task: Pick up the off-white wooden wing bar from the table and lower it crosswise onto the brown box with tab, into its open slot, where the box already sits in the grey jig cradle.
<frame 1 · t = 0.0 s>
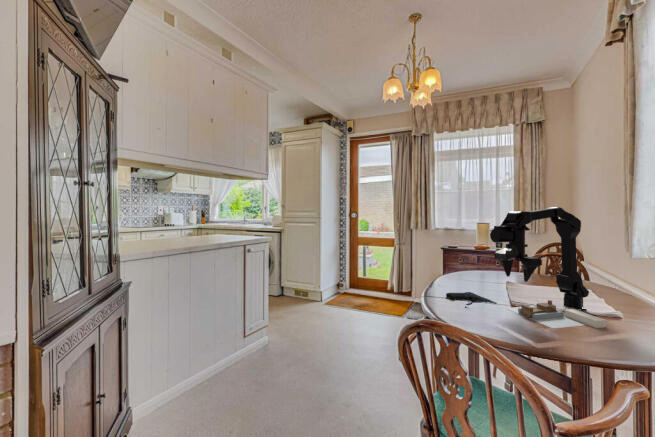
hand: (516, 279, 123), 15 cm above the table, fingers open, 9 cm apart
jig board: (542, 318, 118), on the table
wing: (584, 325, 112), on the table
gun: (472, 304, 139), on the table
brown box with tab: (538, 315, 119), point 1 cm above the table, touching jig board
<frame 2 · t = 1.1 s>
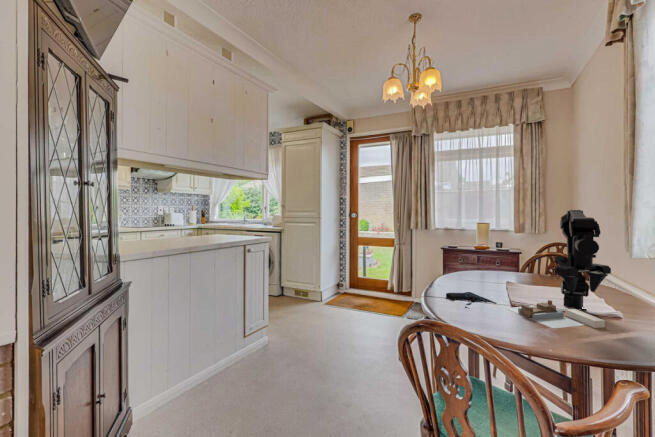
hand: (582, 292, 112), 12 cm above the table, fingers open, 9 cm apart
nothing on the table moved.
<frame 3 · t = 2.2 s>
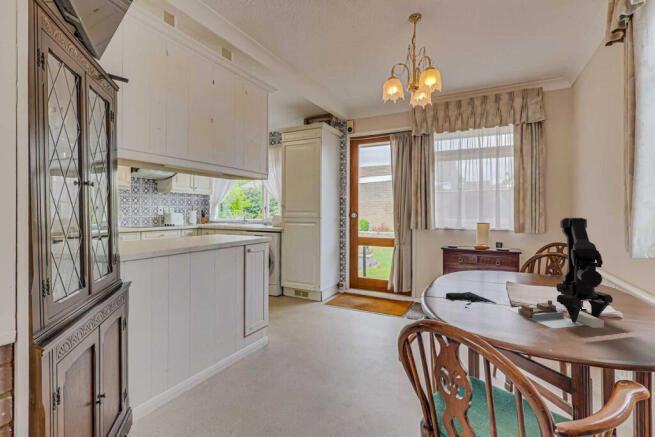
hand: (584, 321, 112), 1 cm above the table, fingers open, 9 cm apart
nothing on the table moved.
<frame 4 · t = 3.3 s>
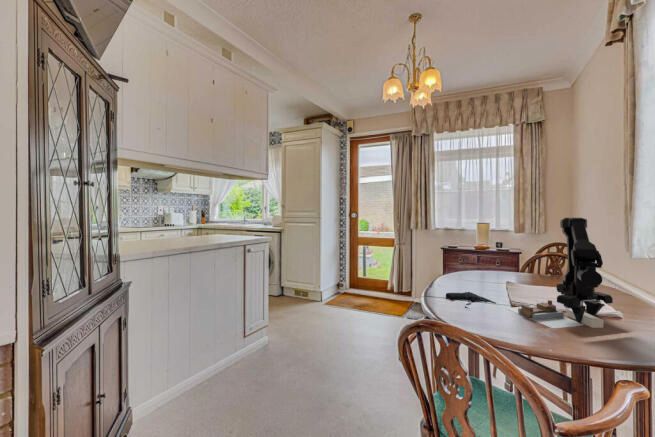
hand: (584, 321, 112), 1 cm above the table, fingers closed on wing, 4 cm apart
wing: (583, 324, 112), on the table, touching gripper
everything else where it was.
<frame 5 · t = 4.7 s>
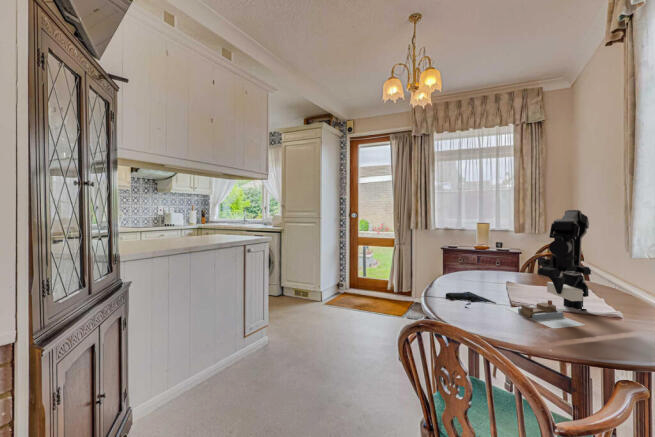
hand: (563, 293, 114), 11 cm above the table, fingers closed on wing, 4 cm apart
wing: (563, 296, 114), point 10 cm above the table, touching gripper
everything else where it was.
when the fingers open (7 cm above the table, at t = 6.2 s): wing drops 2 cm, resting on brown box with tab.
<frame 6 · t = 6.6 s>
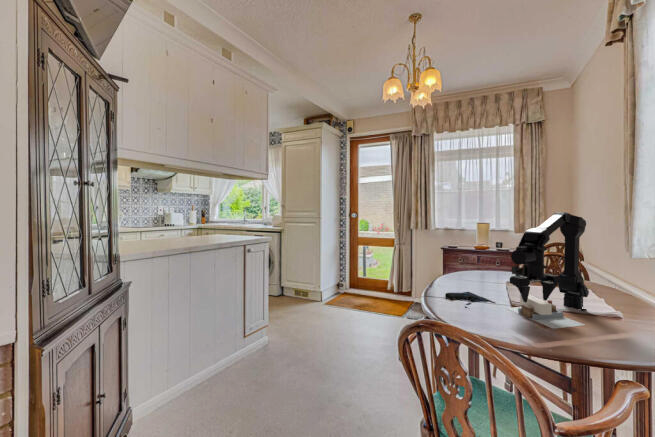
hand: (535, 301, 118), 7 cm above the table, fingers open, 9 cm apart
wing: (535, 309, 118), point 4 cm above the table, touching brown box with tab
brown box with tab: (538, 315, 119), point 1 cm above the table, touching jig board, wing
everything else where it was.
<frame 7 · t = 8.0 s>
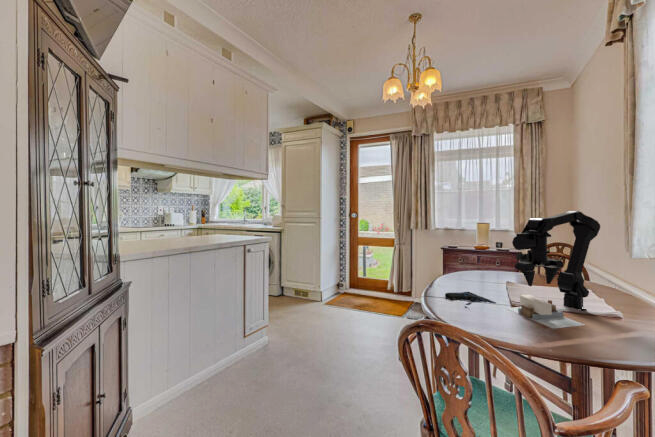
hand: (539, 285, 125), 12 cm above the table, fingers open, 9 cm apart
nothing on the table moved.
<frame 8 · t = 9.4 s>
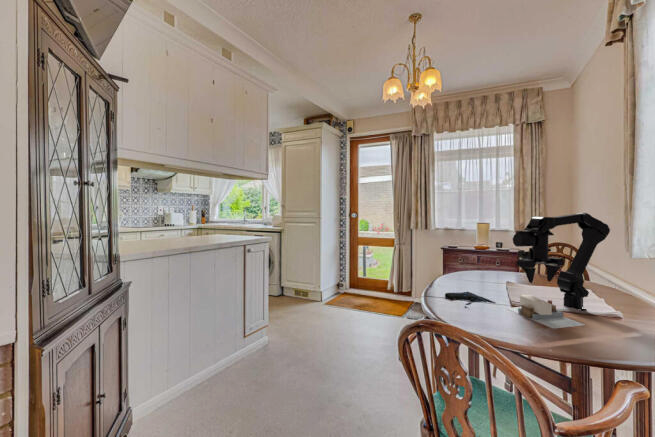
hand: (539, 282, 128), 12 cm above the table, fingers open, 9 cm apart
nothing on the table moved.
at the end: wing 0.1 cm from the target spot on the brown box with tab, point 2.5 cm above the brown box with tab's base; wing tilted 0°; the gripper is holding nothing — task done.
